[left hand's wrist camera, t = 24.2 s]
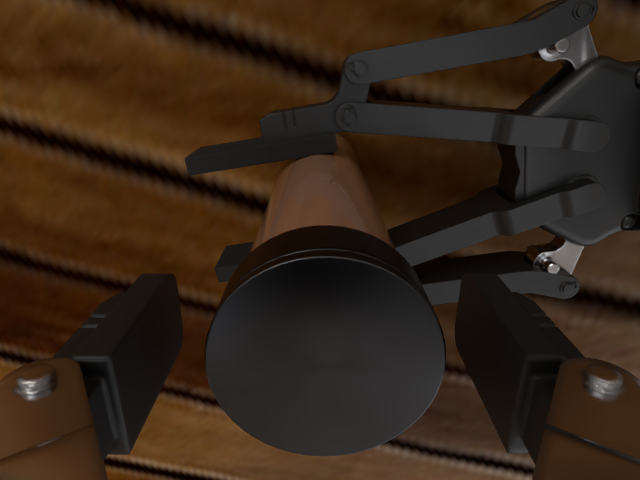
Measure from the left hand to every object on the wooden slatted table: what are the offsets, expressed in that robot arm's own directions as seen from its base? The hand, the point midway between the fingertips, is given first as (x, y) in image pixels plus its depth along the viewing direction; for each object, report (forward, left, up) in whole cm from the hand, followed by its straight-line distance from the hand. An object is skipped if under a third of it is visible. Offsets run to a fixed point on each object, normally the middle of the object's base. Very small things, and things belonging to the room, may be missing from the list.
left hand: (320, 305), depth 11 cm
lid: (0, 0, +2) cm, 2 cm away
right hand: (+3, -4, -10) cm, 11 cm away
